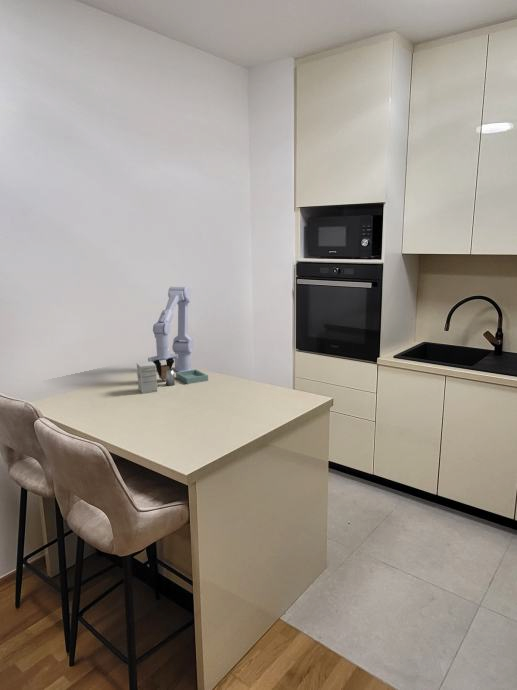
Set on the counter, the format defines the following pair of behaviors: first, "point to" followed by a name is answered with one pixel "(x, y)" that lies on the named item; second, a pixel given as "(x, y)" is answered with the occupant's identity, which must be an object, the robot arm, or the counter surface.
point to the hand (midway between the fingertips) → (164, 374)
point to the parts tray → (191, 376)
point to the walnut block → (163, 371)
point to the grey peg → (170, 377)
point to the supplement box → (147, 377)
